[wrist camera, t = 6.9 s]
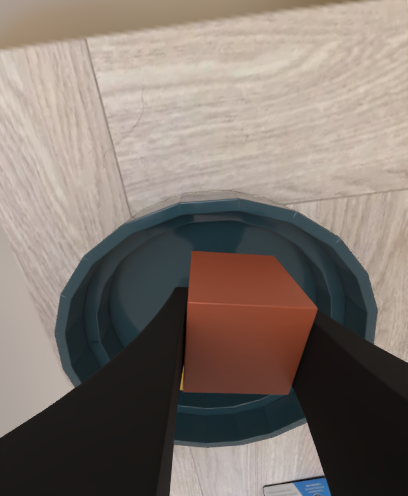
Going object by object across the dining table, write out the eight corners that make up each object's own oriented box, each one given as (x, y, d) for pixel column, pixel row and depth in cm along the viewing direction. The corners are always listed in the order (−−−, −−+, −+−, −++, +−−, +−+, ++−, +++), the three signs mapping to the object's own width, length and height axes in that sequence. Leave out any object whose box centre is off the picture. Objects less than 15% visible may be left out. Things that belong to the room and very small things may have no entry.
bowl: (105, 388, 20) (80, 446, 16) (76, 177, 13) (17, 181, 9) (298, 392, 21) (323, 449, 17) (366, 199, 14) (439, 213, 10)
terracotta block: (187, 317, 11) (182, 392, 8) (191, 250, 10) (187, 302, 6) (259, 320, 11) (289, 395, 8) (274, 255, 10) (318, 308, 6)
